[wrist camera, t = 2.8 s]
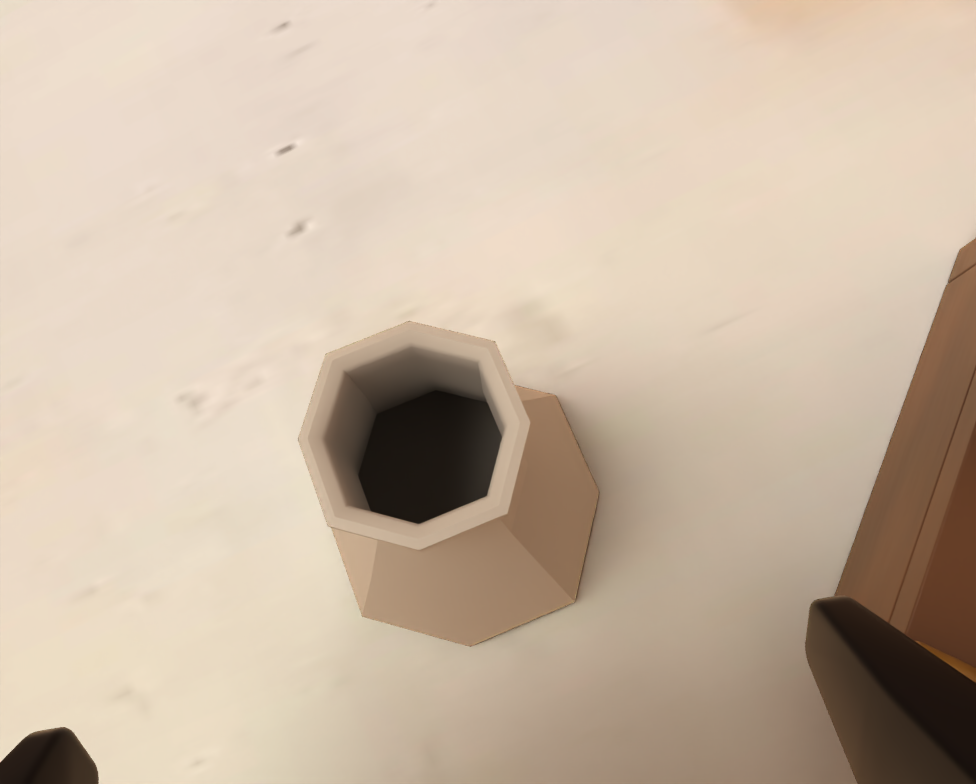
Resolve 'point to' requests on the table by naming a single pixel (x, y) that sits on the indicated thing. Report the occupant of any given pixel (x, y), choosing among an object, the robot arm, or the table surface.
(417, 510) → the flask
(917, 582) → the spice rack
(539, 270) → the table surface
